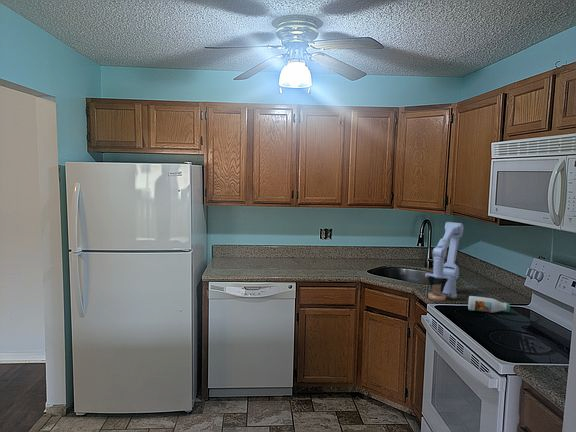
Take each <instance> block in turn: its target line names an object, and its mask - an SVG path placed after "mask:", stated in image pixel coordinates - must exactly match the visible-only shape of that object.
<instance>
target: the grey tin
mask: <svg viewBox="0 0 576 432" xmlns="http://www.w3.org/2000/svg"><path fill="white" fill-rule="evenodd" d="M457 297H458V294H457V292H456V293H453V292H449V293H448V294H447V298H448V299H449V300H457V299H458V298H457Z"/></svg>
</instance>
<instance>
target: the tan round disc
mask: <svg viewBox="0 0 576 432" xmlns="http://www.w3.org/2000/svg"><path fill="white" fill-rule="evenodd" d="M427 299H428V300H430V301H433V302H445V301H447V294H446V293H442V294H441V295H437V294H432V291H430V292H429V293H428V294H427Z"/></svg>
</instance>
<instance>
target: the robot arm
mask: <svg viewBox="0 0 576 432" xmlns="http://www.w3.org/2000/svg"><path fill="white" fill-rule="evenodd" d="M464 229H465V228H464V223H462V222H453V221H452V222H451V221H446V222H445V225H444V232H445V233H444V235H443V237H442V238H440V239H439V242H437V245H436V247H434V248H433V249H432V252H431V253H432V254H431V255H432V260H433V268H432V269H433V270H432V272H433V273H431V272H430V273H429V272H426V273H425V274H424V275H425V278H427V279H428V282H429V285H430V289H431V291H432V285H433V284H434V283H435V279H440V280H441V282H440V284H441V285H442V287H441V291H442V292H443V293H442V294H445V295H448V293H449V292H453V293H457V292H458V290H456V288H457V287H456V286H457V281H456V280H458V278H459V275H460V268H459V266H458V265H457V264H456V259H457V254H458V253H457V252H458V247H459V241H460V239H461V238H462V237H463V234H464ZM447 249H448V250H447ZM447 251H448V254H447ZM446 255H447V260H446V262H445V258H446Z"/></svg>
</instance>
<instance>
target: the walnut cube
mask: <svg viewBox="0 0 576 432" xmlns="http://www.w3.org/2000/svg"><path fill="white" fill-rule="evenodd" d="M441 287H442V283H435V282H434V284H433V285H432V290H431V292H432V294H437V295H441V294H444V293H443V292H442V291H441Z"/></svg>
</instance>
